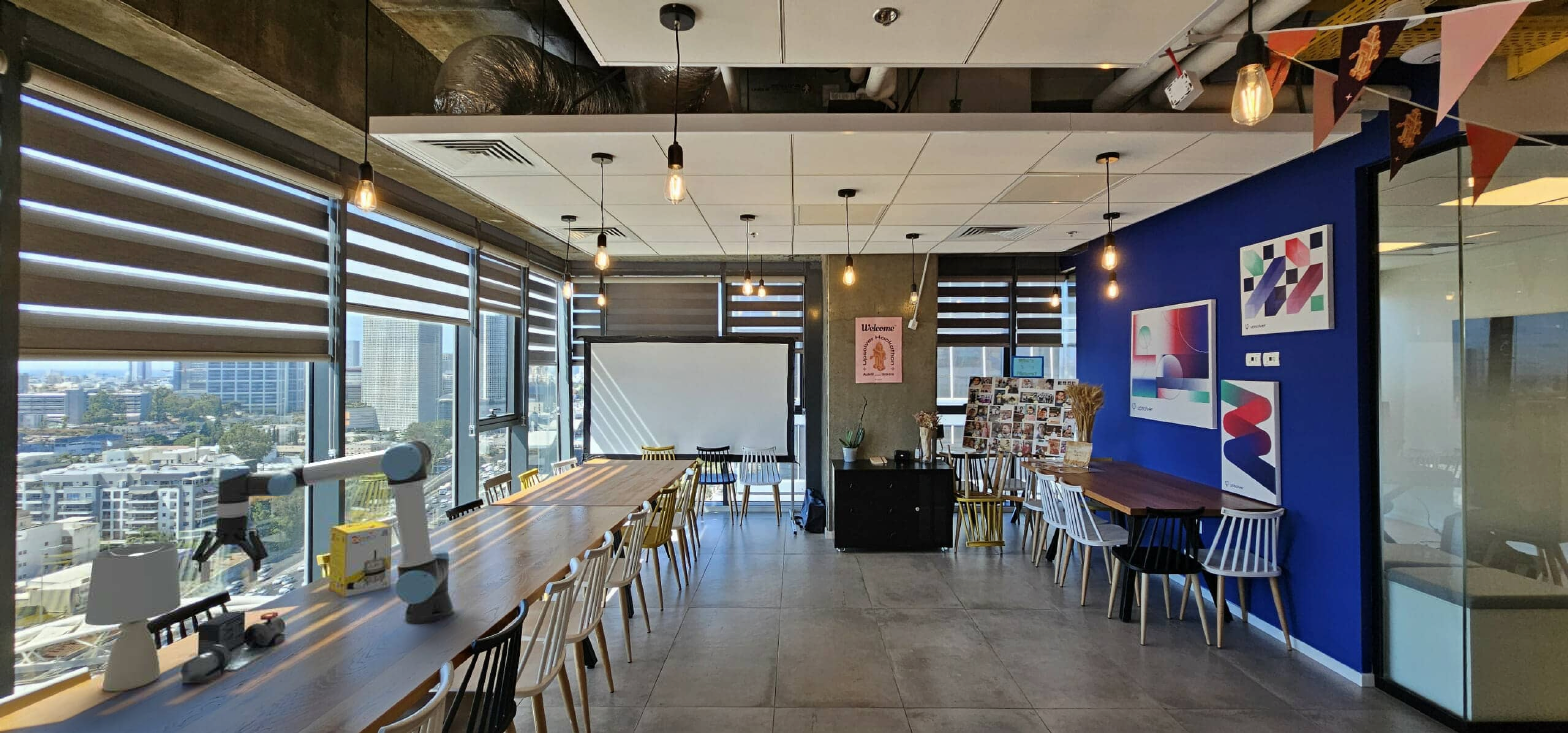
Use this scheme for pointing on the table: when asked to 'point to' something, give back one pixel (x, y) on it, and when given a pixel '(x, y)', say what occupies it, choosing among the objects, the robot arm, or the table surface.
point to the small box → (222, 631)
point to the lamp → (133, 607)
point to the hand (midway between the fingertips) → (229, 582)
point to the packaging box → (360, 557)
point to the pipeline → (235, 651)
